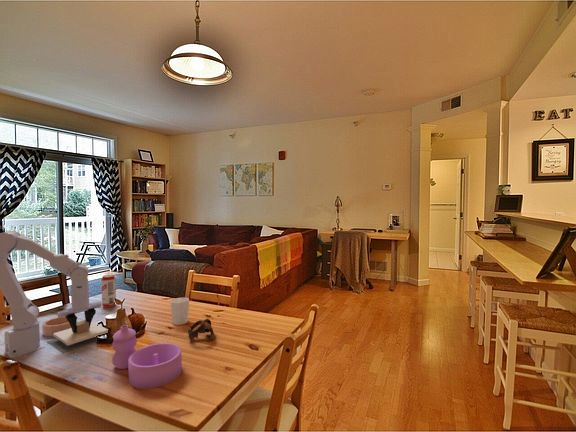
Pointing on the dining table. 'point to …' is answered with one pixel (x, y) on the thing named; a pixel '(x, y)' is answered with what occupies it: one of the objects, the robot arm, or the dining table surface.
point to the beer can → (108, 291)
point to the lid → (80, 332)
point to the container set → (146, 360)
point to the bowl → (55, 326)
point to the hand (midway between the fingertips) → (81, 330)
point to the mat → (66, 348)
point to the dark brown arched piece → (201, 329)
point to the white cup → (179, 310)
